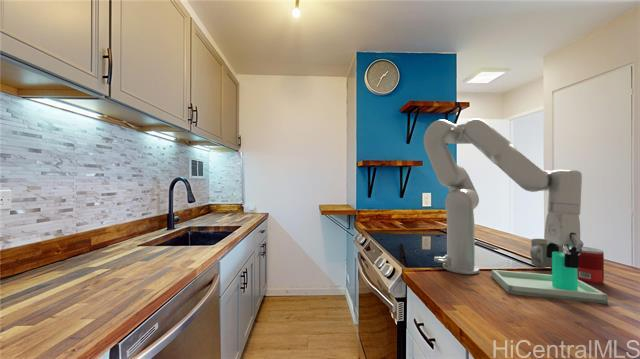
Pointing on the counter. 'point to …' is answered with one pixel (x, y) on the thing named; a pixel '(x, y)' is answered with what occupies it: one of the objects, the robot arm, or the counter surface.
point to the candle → (563, 273)
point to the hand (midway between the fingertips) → (561, 262)
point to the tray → (545, 287)
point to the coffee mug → (541, 253)
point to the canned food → (591, 266)
